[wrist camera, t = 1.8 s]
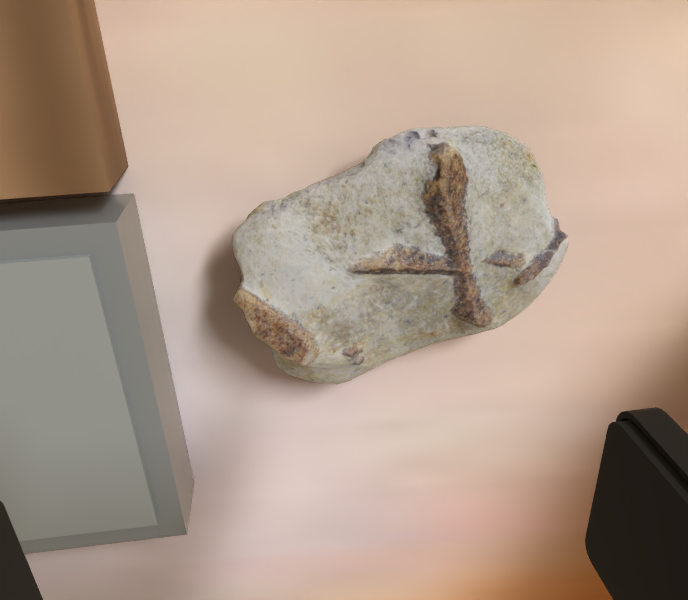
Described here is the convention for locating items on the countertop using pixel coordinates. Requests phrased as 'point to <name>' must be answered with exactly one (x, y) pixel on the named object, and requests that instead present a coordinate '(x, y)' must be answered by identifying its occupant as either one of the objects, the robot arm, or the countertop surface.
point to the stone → (398, 252)
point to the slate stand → (85, 380)
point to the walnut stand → (56, 102)
